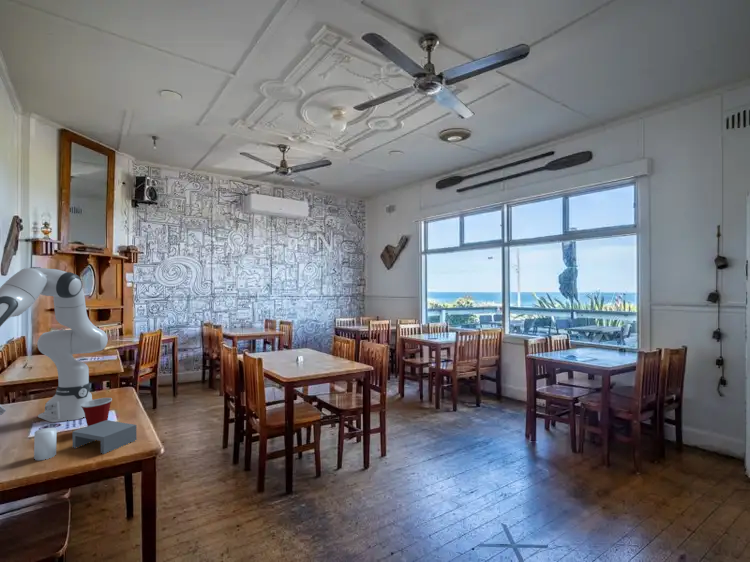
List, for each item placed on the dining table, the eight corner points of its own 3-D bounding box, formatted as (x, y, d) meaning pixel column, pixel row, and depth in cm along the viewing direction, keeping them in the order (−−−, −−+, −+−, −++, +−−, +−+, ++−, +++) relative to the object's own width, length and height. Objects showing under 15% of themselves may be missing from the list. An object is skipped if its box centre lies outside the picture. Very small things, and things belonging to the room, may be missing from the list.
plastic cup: (84, 427, 172) (84, 398, 172) (114, 424, 176) (114, 396, 176) (76, 436, 161) (76, 406, 161) (109, 433, 166) (109, 403, 165)
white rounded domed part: (29, 458, 141) (30, 432, 141) (48, 452, 147) (49, 426, 147) (41, 461, 139) (42, 434, 139) (60, 454, 145) (60, 429, 145)
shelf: (72, 447, 151) (72, 431, 151) (106, 435, 163) (106, 420, 163) (103, 454, 145) (103, 437, 145) (136, 440, 158) (136, 424, 158)
